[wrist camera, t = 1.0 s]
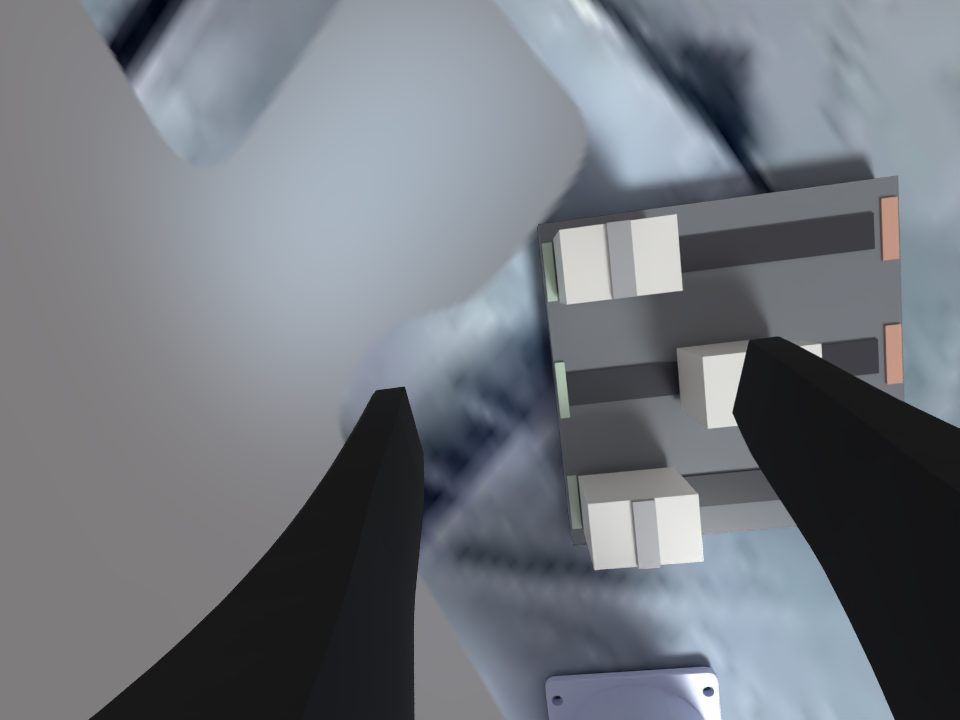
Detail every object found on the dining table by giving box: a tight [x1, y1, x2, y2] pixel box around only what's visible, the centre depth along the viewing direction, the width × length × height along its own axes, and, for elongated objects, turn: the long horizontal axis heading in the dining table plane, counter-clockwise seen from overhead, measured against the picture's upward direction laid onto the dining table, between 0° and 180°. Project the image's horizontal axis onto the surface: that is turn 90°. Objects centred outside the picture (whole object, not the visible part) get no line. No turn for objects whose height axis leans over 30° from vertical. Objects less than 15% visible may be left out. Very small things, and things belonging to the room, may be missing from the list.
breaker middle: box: [676, 337, 822, 429], centre depth 20 cm, size 3×4×3 cm, turn 97°
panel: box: [537, 176, 904, 545], centre depth 22 cm, size 14×14×1 cm
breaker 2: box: [578, 467, 704, 570], centre depth 21 cm, size 3×4×3 cm, turn 97°
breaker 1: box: [553, 214, 683, 305], centre depth 19 cm, size 3×4×3 cm, turn 97°
